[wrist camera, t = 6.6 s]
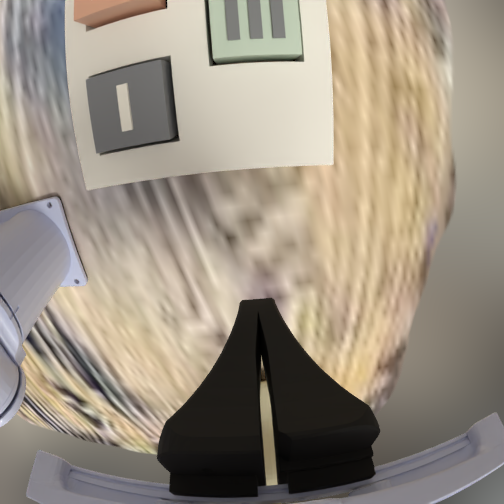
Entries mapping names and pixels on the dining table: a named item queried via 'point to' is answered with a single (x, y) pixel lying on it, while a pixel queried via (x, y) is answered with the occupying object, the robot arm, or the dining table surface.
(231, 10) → the key three
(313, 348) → the dining table surface
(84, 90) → the key panel
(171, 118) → the key one
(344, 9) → the dining table surface
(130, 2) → the key two
